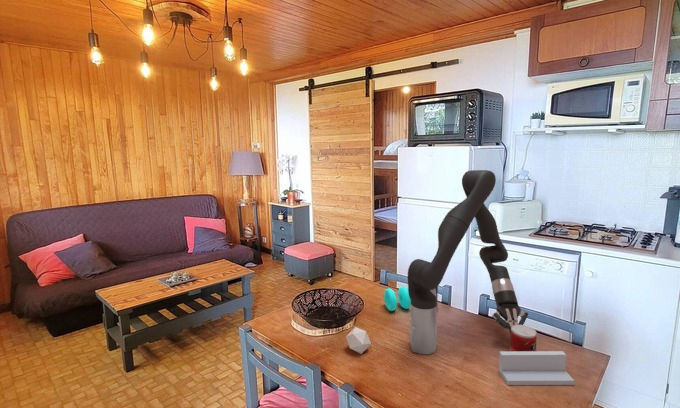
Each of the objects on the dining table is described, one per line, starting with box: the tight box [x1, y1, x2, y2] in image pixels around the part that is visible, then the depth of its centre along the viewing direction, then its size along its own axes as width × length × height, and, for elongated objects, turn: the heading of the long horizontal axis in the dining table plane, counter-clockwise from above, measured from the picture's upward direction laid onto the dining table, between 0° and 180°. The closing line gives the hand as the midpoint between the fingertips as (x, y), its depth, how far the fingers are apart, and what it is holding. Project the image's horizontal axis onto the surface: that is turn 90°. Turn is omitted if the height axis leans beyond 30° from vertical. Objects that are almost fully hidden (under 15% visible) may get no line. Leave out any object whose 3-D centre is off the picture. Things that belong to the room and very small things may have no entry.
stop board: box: [498, 350, 575, 386], centre depth 114 cm, size 20×7×7 cm, turn 87°
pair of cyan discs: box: [383, 286, 411, 312], centre depth 165 cm, size 10×10×10 cm
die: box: [345, 326, 372, 355], centre depth 133 cm, size 8×9×10 cm
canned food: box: [509, 324, 538, 351], centre depth 124 cm, size 8×8×11 cm
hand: (516, 339), depth 128 cm, fingers closed
